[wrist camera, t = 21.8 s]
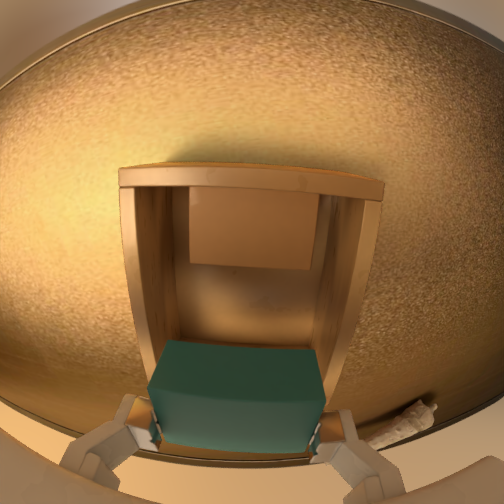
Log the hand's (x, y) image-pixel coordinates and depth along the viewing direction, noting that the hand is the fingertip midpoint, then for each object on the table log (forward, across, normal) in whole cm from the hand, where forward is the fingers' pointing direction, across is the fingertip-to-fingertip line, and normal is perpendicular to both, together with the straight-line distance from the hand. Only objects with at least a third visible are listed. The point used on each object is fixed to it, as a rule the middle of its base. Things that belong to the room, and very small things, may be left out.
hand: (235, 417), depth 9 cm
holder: (+9, 0, -3) cm, 9 cm away
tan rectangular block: (+8, 0, -6) cm, 10 cm away
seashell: (+9, -15, +14) cm, 23 cm away
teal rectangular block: (+2, 0, 0) cm, 2 cm away
